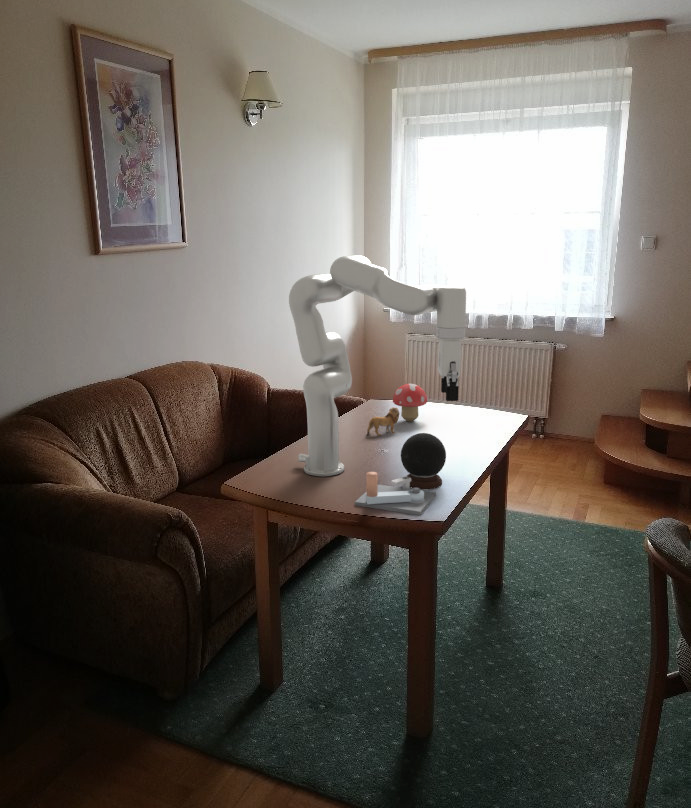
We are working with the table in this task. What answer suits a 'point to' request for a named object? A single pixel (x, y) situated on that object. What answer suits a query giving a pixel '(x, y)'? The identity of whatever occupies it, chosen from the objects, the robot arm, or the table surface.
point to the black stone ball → (423, 460)
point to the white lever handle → (389, 493)
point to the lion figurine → (384, 421)
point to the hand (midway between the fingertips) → (449, 396)
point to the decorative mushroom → (409, 400)
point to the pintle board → (402, 507)
